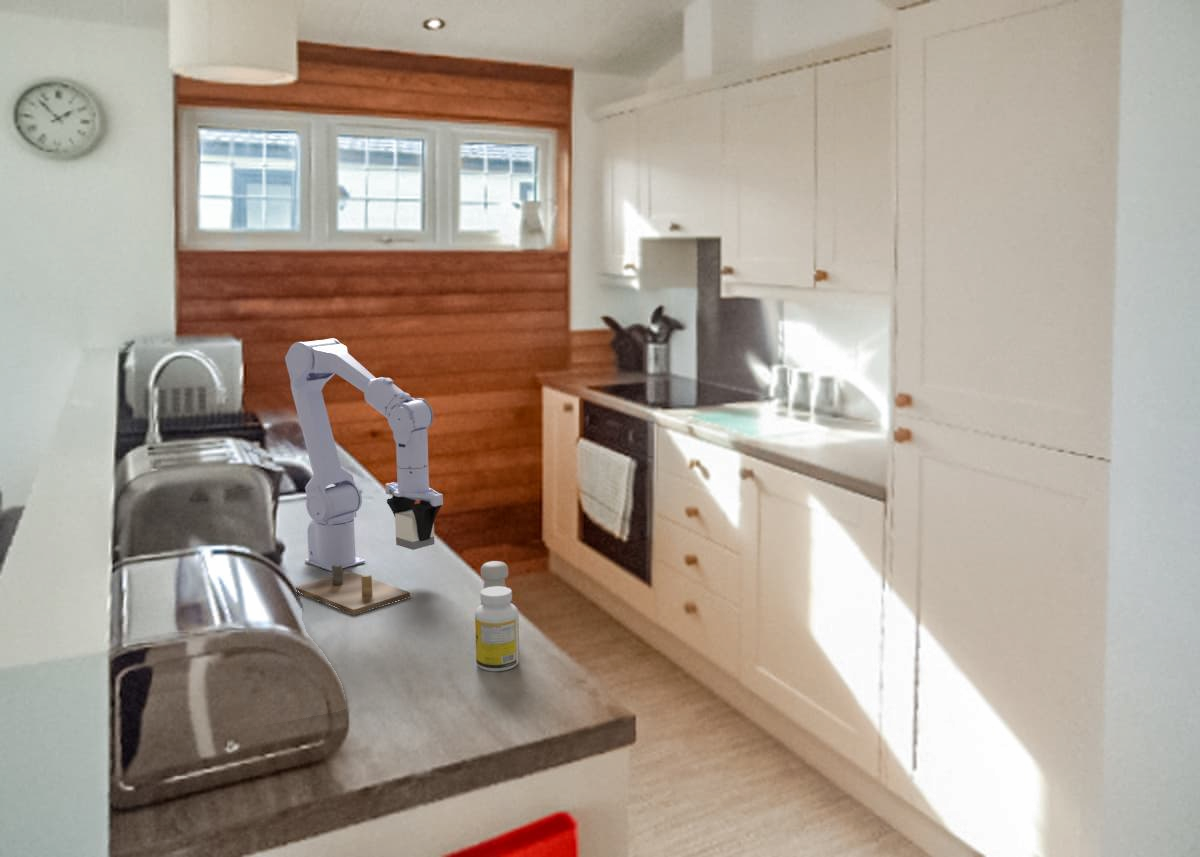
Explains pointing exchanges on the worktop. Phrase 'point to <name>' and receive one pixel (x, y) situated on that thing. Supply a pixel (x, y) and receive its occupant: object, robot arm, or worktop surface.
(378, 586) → the pin board
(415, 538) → the sleeve
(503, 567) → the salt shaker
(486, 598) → the pill bottle
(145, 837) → the worktop surface
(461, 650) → the worktop surface
